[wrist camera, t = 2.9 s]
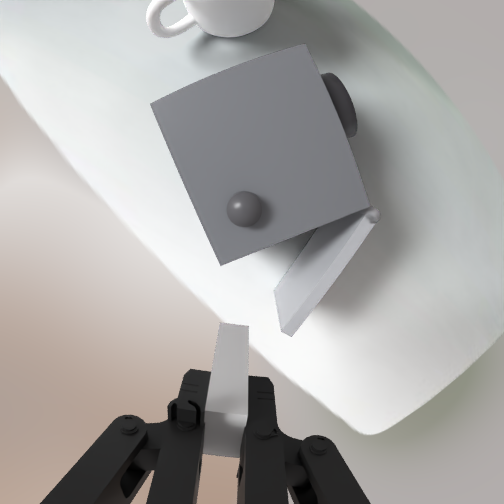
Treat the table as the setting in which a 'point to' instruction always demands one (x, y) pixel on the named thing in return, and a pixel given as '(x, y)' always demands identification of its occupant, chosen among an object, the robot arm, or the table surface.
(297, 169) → the camera body
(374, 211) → the side door
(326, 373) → the table surface
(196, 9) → the cup
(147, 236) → the table surface
